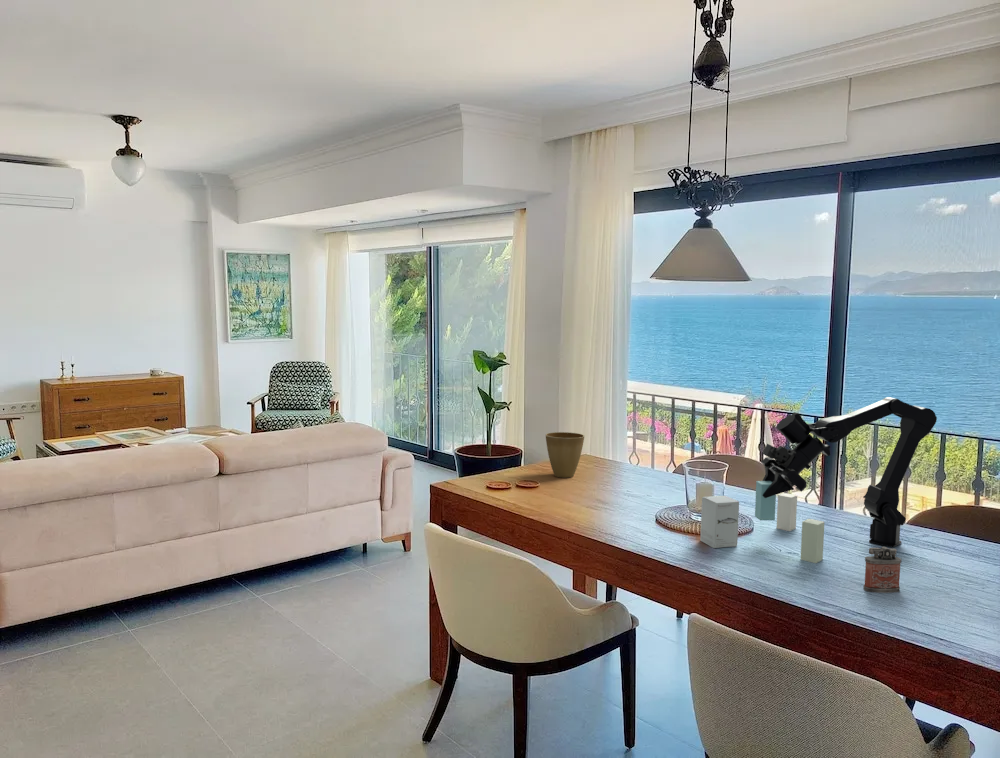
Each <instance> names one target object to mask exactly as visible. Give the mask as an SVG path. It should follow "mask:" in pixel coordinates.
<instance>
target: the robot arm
mask: <svg viewBox="0 0 1000 758" xmlns="http://www.w3.org/2000/svg"><path fill="white" fill-rule="evenodd" d="M890 415H894V416H896V417H898V418H900V422H899V426H900V427H899V428H900V429H899V430H900V435H899V438H898V440H897V442H896V444H895V447H894V449H893V452H892V454H891V456H890V457H889V460H888V463H887V465H886V467H885V470H884V472H883V473H882V477H880V480H879V482H878V483H877V484H876V485H872V484H869V486H868V487H867V491H866V492H865V494H864V495H863V498H864V500H863V505H864V508H865V510H867V512H868V514H869V516H870V517H871V518H873V519H872V523H871V524H870V525H869V527H870V528H869V540H868V542H869V543H872V544H876V545H881V546H883V547H889V548H896V547H897V546H899V545H900V544H902V540H900V537H901V526H903V525H904V524H905V522H906V519H907V518H906V517H905V516H904V515H903V514H902V512H901V511H900V510H898V507H899V503H900V493H899V492H900V491H899V490H900V487H901V484H902V483H903V480H904V477H905V475H906V473H907V471H908V468H909V467H910V464H911V462H912V460H913V457H914V455H915V453H916V450H917V448H918V446H919V443H920V442H921V441H922V440H923V439H924V438H925V437H926V436H928V434H930V433H931V431H932V429H933V428H934V427H935V425H936V423H937V419H938V418H937V415H936V413H935V412H934V410H932V409H931V408H928V407H923V406H919V405H914V404H913V405H912V404H909V403H907V402H905V401H901V399H898V398H896V397H895V398H894V397H890V396H888V397H884V398H882V399H881V400H878V401H877V402H874V403H871V404H869V405H867V406H864V407H861V408H859V409H856V410H854V411H852V412H849V413H846V414H843V415H833V416H829V417H824V418H821V419H818V420H817V421H816V422H814V423H807V422H806V421H805V420H804V419H803V418H802V415H800V414H799V412H792V414H791V415H788V416H786V417H784V418H782V419H781V420H779V421H778V423H777V425H776V429H777V431H779V432H780V433H781V435H782V436H783V437H784V438H785V439H786V440H787V441H788V442H789V444H797V445H795V446H794V448H793V449H790V448H786V447H784V446H781V445H780V446H778V447H776V446H773V445H771V444H769V443H767V444H765V448H764V449H763V451H762V455H764V456H766V457H764V458H763V459H762V460H761V461H760V462H761V464H763V466H764V467H763V468H764V472H765V475H764V477H763V479H762V480H761V481H772V484H771V485H770V486H769V487H768V488H767V490H766V491H765V492H764V493H763V495H762V496H763V497H764V498H767V497H770V496H773V495H776V496H777V495H779V494H782V493H787V492H789V491H794V490H795V489H796V490H798V491H799V492H801V493H802V492H803V491H804V490H805V489H807V485H808V483H807V481H806V480H805V479H804V477H803V476H801V475H800V474H801V473H802V472H803V470H805V469H806V470H809V469H810V468H811V465H810V464H811V463H812V462H813V461H814V460H815V459H817V457H819V455H820V454H821V453H822V454H823V455H825V456H827V457H831V446H830V445H829V444H824V443H823V442H822V441H821V440H823V441H825V442H829V443H832V444H834V443H838V442H840V441H841V440H843V439H845V438H846V437H848V436H849V434H851V433H852V432H853V431H854V430H856V429H858V428H861V427H863V426H867V425H868V424H871V423H873V422H876V421H878V420H881V419H883V418H885V417H888V416H890ZM812 435H814V436H815V437H813V436H812ZM794 486H795V488H794Z"/></svg>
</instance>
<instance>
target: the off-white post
mask: <svg viewBox="0 0 1000 758" xmlns="http://www.w3.org/2000/svg"><path fill="white" fill-rule="evenodd" d="M776 506H777V508H776V509H777V510H776V529H778V530H782V531H787V532H791V531H793V530H796V528H797V510H798V509H797V507H798V495H796V494H791V493H787V492H783V493H779V494H777V505H776Z"/></svg>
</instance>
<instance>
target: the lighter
mask: <svg viewBox="0 0 1000 758" xmlns="http://www.w3.org/2000/svg"><path fill="white" fill-rule="evenodd" d="M897 551H898V550H897V549H896V548H888V546H882V547H869V548H868V554H870V555H871V556H870V555H869V556H865V557H864V560H865V561H864V562H865V567H864V568H865V569H864V570H865V571H864V573H865V574H864V584H863V591H865V592H868V593H876V594H877V593H879V594H881V593H882V594H887V593H889V594H891V593H900V592H901V591H900V590H901V587H900V580H901V579H900V575H901V564H902V558H900V557H898V556H897Z"/></svg>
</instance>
